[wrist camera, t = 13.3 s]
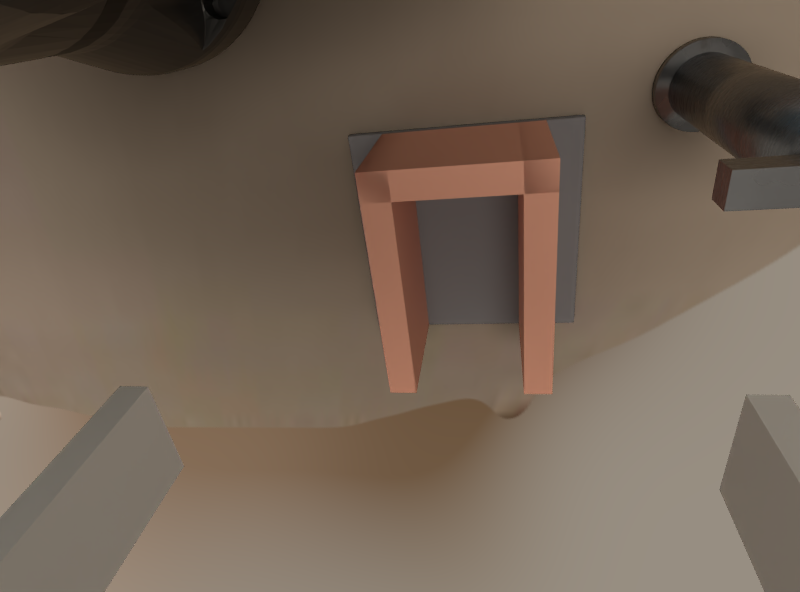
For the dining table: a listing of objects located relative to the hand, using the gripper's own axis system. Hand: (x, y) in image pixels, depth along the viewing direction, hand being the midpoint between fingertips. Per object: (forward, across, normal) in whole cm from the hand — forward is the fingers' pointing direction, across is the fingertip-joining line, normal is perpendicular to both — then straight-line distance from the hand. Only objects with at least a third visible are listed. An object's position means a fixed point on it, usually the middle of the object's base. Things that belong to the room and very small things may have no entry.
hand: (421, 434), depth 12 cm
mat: (+22, 0, -5) cm, 22 cm away
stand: (+22, +12, +3) cm, 25 cm away
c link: (+21, 0, -5) cm, 22 cm away
